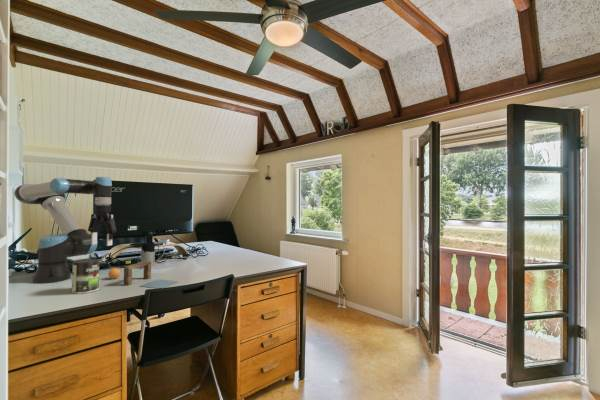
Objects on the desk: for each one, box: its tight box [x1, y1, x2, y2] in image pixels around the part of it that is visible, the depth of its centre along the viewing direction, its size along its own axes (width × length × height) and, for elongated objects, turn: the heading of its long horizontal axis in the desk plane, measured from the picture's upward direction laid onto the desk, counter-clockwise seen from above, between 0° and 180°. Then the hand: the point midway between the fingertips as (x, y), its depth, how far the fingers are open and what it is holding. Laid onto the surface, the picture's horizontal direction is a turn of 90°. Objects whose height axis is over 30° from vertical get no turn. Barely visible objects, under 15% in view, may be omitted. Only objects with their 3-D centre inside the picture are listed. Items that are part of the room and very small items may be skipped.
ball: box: [107, 267, 121, 280], centre depth 154 cm, size 6×6×6 cm
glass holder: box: [139, 242, 166, 270], centre depth 184 cm, size 9×14×15 cm, turn 115°
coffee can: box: [71, 258, 100, 295], centre depth 133 cm, size 10×10×14 cm
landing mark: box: [139, 278, 179, 289], centre depth 146 cm, size 13×13×1 cm
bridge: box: [123, 261, 152, 286], centre depth 149 cm, size 3×14×9 cm, turn 164°
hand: (101, 244), depth 157 cm, fingers open, 10 cm apart
